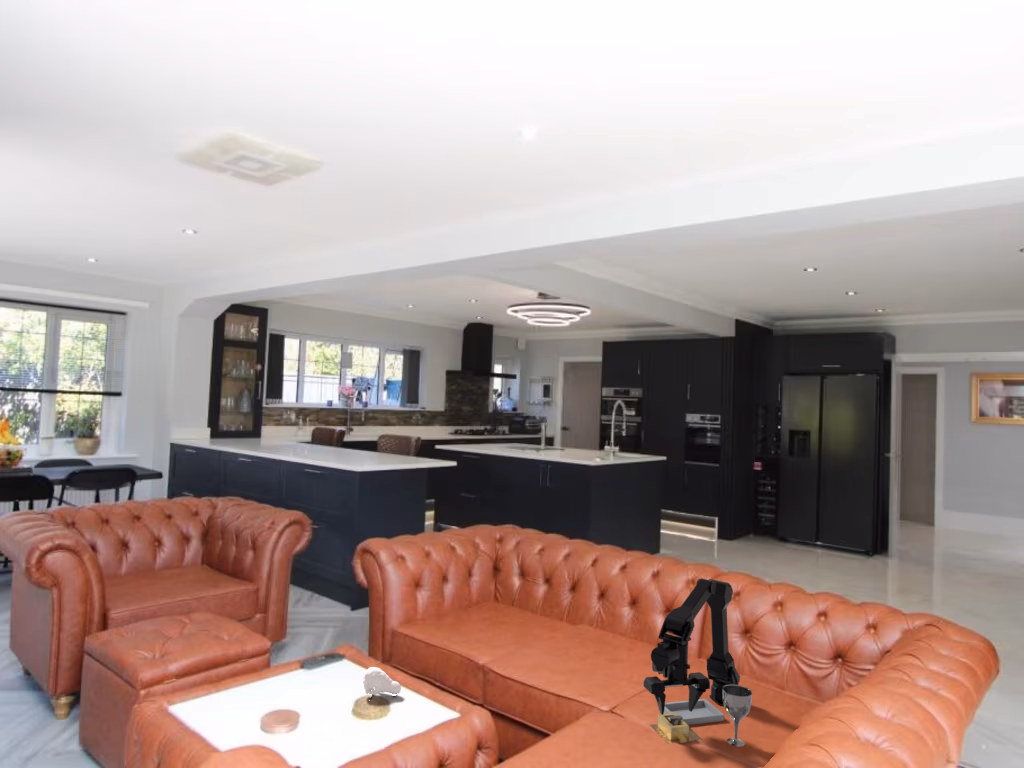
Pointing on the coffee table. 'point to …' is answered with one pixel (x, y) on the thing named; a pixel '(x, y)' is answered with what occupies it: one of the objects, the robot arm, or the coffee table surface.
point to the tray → (695, 712)
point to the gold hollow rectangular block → (673, 728)
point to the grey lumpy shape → (379, 682)
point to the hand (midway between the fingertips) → (676, 712)
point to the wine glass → (736, 707)
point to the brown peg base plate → (675, 722)
